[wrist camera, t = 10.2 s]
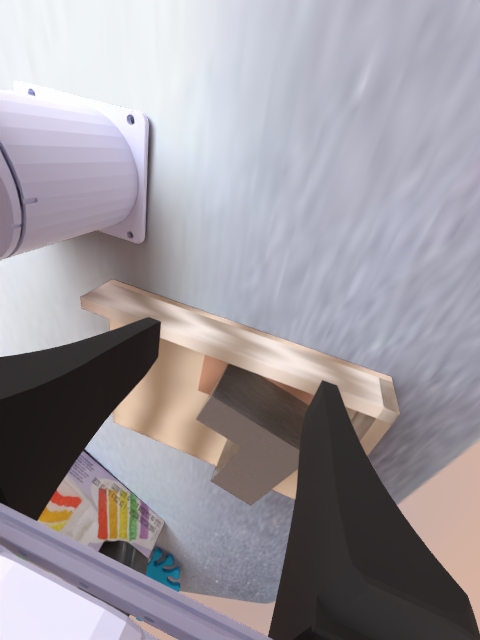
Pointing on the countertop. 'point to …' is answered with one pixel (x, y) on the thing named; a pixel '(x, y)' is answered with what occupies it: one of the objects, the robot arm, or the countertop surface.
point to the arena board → (209, 362)
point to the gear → (163, 571)
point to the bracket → (253, 432)
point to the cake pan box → (102, 517)
